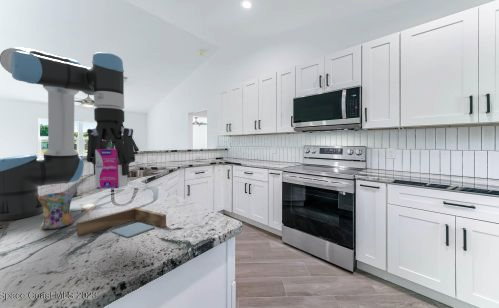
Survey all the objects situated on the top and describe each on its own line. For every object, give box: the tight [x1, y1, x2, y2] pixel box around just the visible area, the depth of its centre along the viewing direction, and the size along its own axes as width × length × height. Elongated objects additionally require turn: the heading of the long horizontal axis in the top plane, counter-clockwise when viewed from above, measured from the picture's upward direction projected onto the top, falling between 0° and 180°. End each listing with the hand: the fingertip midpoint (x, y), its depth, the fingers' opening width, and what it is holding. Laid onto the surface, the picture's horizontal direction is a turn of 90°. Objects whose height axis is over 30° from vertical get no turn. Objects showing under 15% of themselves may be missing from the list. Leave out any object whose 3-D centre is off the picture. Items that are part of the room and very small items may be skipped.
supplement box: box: [95, 148, 120, 190], centre depth 66 cm, size 6×6×12 cm
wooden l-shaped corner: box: [76, 207, 167, 237], centre depth 71 cm, size 17×19×4 cm
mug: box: [38, 191, 75, 230], centre depth 76 cm, size 12×9×11 cm
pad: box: [110, 221, 155, 238], centre depth 72 cm, size 9×9×1 cm
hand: (111, 186), depth 66 cm, fingers closed on supplement box, 7 cm apart
